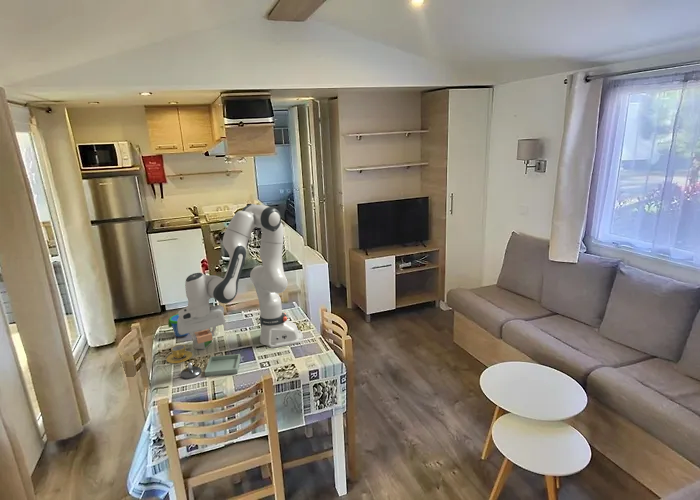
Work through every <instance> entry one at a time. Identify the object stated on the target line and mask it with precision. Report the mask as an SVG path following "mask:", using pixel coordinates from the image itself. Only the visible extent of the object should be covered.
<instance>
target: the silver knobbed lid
mask: <svg viewBox="0 0 700 500" xmlns="http://www.w3.org/2000/svg"><path fill="white" fill-rule="evenodd" d="M179 375H180V377H181V379H183V380H190V379H191V380H192V379H195V378H197V377H200V375H202V368H201V367H200V366H194V365H193V363H192V362H191V361H189V362H187V367H185V368H184V369H182V370H181V371H180V374H179Z"/></svg>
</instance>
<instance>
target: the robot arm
mask: <svg viewBox="0 0 700 500" xmlns="http://www.w3.org/2000/svg"><path fill="white" fill-rule="evenodd" d="M229 221H230V222H229V224H228V225H227V227H226V229H225V231H224V234H223V237H222V245H223V247H224V249H225V250H226V252H227V253H228V256H229V261H228V265H227V268H226V272H225V275H224V277H221V276H218V275H215V274H213V275H209V274H205V273H202V272H196V273H192V274H190V275H188V276H186V278H185V282H184V283H185V284H184V285H185V286H184V287H185V296H186V298H187V306H185V307H183V308H182V309H179V311H178V312H177V314H178V315H179V318H178V320H177V327H178V333H179V334H180V335H183V334H187V333H189V334H188V335H189V336H190V337H191V338H193V339H192V342H193V341H195V340H197V339H196V335H193V332H195V331H199V330H203V329H207V328H210V329H211V328H212V329H211V331H210V332H211V333H212V337H214V336H215V332H216V329H217V326H222V325H224V324H225V323H226V318H225V315H224V313H225V308H224V305H223V306H222V305H220V304H228V303H230V302H232V301H234V299H235V298H236V296H237V294H238V290H239V289H238V287H239V280H240V277H241V275H242V271H243V268H244V265H245V260H246V257H247V248H248V247H247V246H248V242H249V240H250V238H251V235H252V232H253V230H255V228H257V229H261V237H260V238H261V239H260V247H259V258H260V261H261V264H262V265H256V266H254V267H253V268H252V269H251V270H250V273H249V274H250V275H249V278H250V280H251V282H252V284H253V287H254V289H255V292H256V295H257V298H258V303H259V310H260V311H259V313H260V314H259V324H260V337H259V342H260V343H261V345H264V346H267V347H269V348H271V349H274V348H280V347H285V346H290V345H296V344H300V343H301V342H302V341H303V340H304V336H303V332H302V331H301V330H299V328H298V326H297V324H296V323H294V322H293V321H291V320H289V319H288V317H287V313H286V312H283V307H282V299H281V297H280V295H279V294H282V293H284V292H285V291H286V290H287V288H288V285H289V283H288V279H287V276H286V274H285V270H284V264H283V249H284V235H285V233H284V225H283V223H282V216H281V212H280V211H279V210H278V209H277V208H275V207H273V206H268V205H265V204H255V203H251V204H247V205H246V206H245V207H243V209H242V210H238V211H237V212H235V214H234V215H233V216H232V218H231V220H229ZM210 299H215V300H216V301H217V302H219V303H220V304H217V305H214V306H211V305H210V301H209V300H210Z"/></svg>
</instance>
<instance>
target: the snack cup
mask: <svg viewBox="0 0 700 500" xmlns="http://www.w3.org/2000/svg"><path fill="white" fill-rule="evenodd" d="M178 318H179V315H178V313H177V314H174V315H172V316H170V317H169V319H168V322H167V323H168V324H167V325H168V327H169V328H171V327H172V331H173V333H174V335H175V337H180V338H181V337H185V336H188V335H190V334H189V333H187V334H183V335H180V334H179V333H178V327H177V320H178Z"/></svg>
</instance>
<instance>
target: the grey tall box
mask: <svg viewBox="0 0 700 500" xmlns="http://www.w3.org/2000/svg"><path fill="white" fill-rule="evenodd" d="M207 329H209V330H210V331H212V329H211V328H207ZM203 330H206V329H203ZM199 331H202V330H199ZM195 332H198V331H195ZM193 335H195V333H194V332H193ZM191 338H192V337H191ZM212 343H213V340H210V341H207V342H203V343H199V344H198V343H197V340H195V341H193V338H192V346H193V349H194V350H206V349H207V348H208V347H209V346H210V345H211V344H212Z"/></svg>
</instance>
